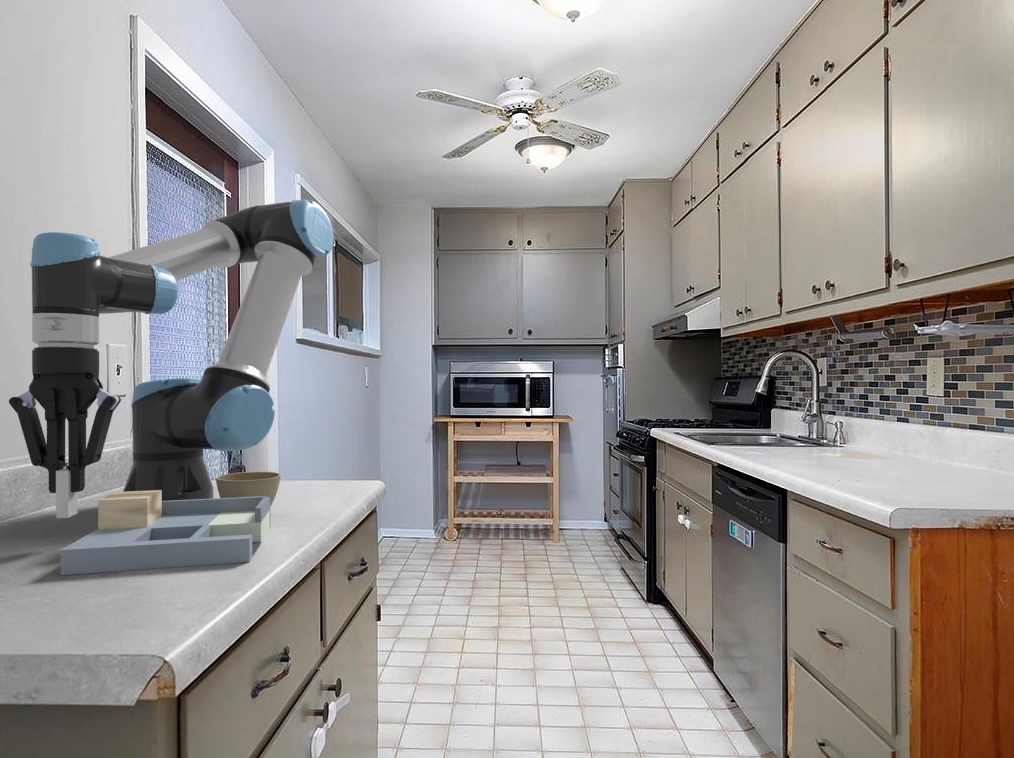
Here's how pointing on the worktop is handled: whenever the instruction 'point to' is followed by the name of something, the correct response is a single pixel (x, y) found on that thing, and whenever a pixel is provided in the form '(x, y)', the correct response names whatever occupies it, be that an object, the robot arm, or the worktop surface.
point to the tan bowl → (248, 484)
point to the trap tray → (176, 538)
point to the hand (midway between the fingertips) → (67, 515)
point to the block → (129, 509)
